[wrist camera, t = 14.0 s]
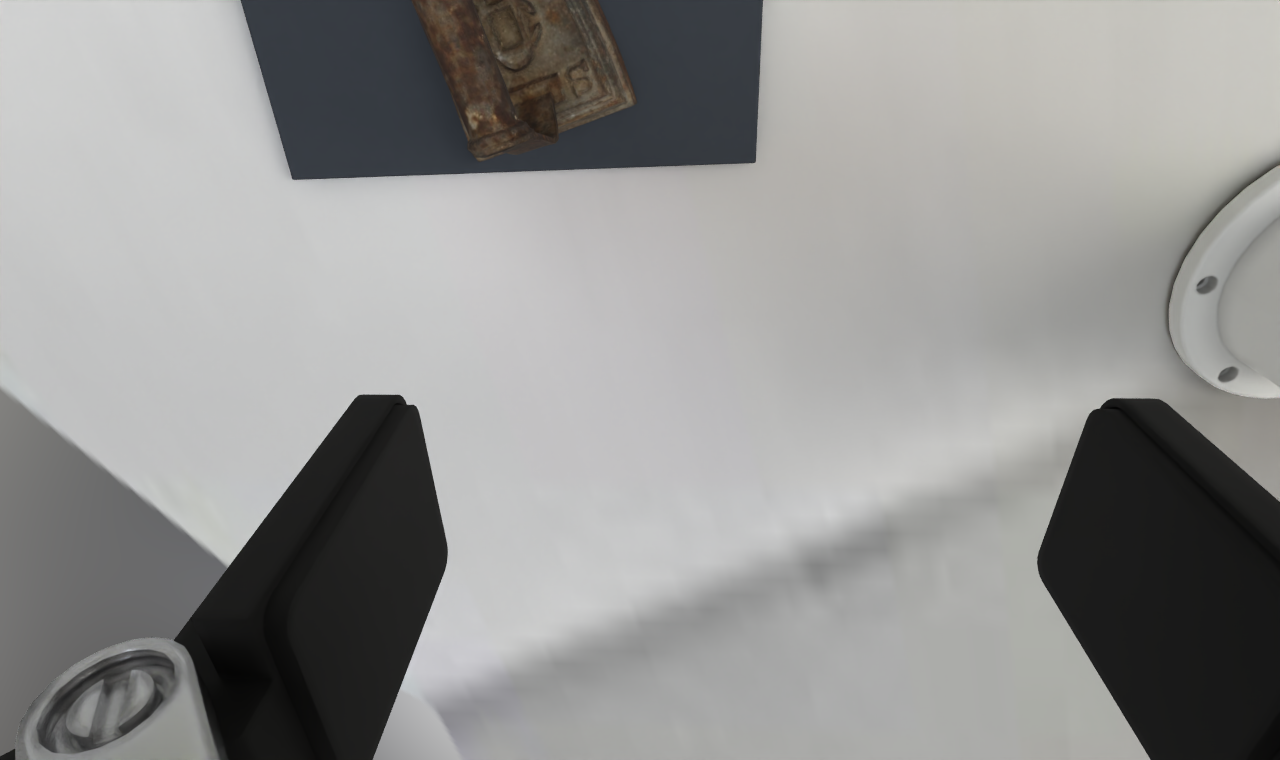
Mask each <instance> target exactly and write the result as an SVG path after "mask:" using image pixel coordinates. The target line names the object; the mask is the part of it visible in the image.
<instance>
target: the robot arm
mask: <svg viewBox="0 0 1280 760" xmlns="http://www.w3.org/2000/svg"><path fill="white" fill-rule="evenodd" d="M1169 330H1170V334H1171V337H1172V341H1173V345H1174V348H1175V349H1176V351H1177V352H1178V354H1179V356H1180V357H1181V359H1182V360H1183V362H1184V363H1185V364H1186V365H1187V366H1188V367H1189V368H1190V369H1192V370H1193V371H1194V372H1195V373H1196V374H1197V375H1198V376H1200V377H1201V378H1203V379H1204V380H1205V381H1207V382H1208V383H1210V384H1211V385H1212V386H1214V387H1216V388H1218V389H1221V390H1223V391H1226V392H1229V393H1232V394H1235V395H1238V396H1245V397H1252V398H1259V399H1265V398H1280V165H1279V166H1277V167H1275V168H1273V169H1272V170H1270V171H1269V172H1268V173H1266V174H1265V175H1263V176H1262V177H1260V178H1259V179H1258V180H1256V181H1255V182H1253V183H1252V184H1250V185H1249V186H1248V187H1246V188H1245V189H1244V190H1243V191H1242V192H1241V193H1240V194H1238V195H1237V196H1236V197H1235V198H1234V199H1233V200H1232V201H1231V202H1230V203H1228V204H1227V205H1226V206H1225V207H1224V208H1223V209H1222V210H1221V211H1220V212H1219V213H1218V214H1217V216H1216V217H1215V218H1214V219H1213V220H1212V221H1211V223H1210V224H1209V225H1208V226H1207V227H1206V228H1205V230H1204V231H1203V232H1202V233H1201V234H1200V236H1199V237H1198V239H1197V240H1196V242H1195V244H1194V245H1193V247H1192V248H1191V250H1190V252H1189V253H1188V255H1187V256H1186V258H1185V259H1184V262H1183V264H1182V266H1181V269H1180V271H1179V273H1178V276H1177V278H1176V280H1175V283H1174V286H1173V291H1172V295H1171V300H1170V304H1169ZM447 555H448V548H447V542H446V537H445V532H444V528H443V523H442V518H441V513H440V509H439V504H438V499H437V495H436V490H435V485H434V480H433V476H432V471H431V466H430V462H429V457H428V452H427V448H426V443H425V438H424V433H423V429H422V424H421V419H420V415H419V411H418V409H417V407H416V406H414V405H407V404H406V401H405V400H404V398H403V397H402V396H400V395H359V396H357V397H356V398H355V399H354V401H353V402H352V403H351V405H350V406H349V407H348V409H347V410H346V411H345V413H344V414H343V415H342V417H341V418H340V419H339V421H338V422H337V423H336V425H335V426H334V427H333V429H332V430H331V431H330V433H329V434H328V435H327V437H326V438H325V439H324V441H323V442H322V443H321V445H320V446H319V447H318V449H317V450H316V451H315V453H314V454H313V455H312V457H311V458H310V459H309V461H308V462H307V463H306V465H305V466H304V467H303V469H302V470H301V471H300V473H299V474H298V475H297V477H296V478H295V479H294V481H293V482H292V483H291V485H290V486H289V487H288V489H287V490H286V491H285V493H284V494H283V495H282V497H281V498H280V499H279V501H278V502H277V503H276V505H275V506H274V507H273V509H272V510H271V511H270V513H269V514H268V515H267V517H266V518H265V519H264V521H263V522H262V523H261V525H260V526H259V527H258V529H257V530H256V531H255V533H254V534H253V535H252V537H251V538H250V539H249V541H248V542H247V543H246V545H245V546H244V547H243V549H242V550H241V551H240V553H239V554H238V555H237V557H236V558H235V559H234V561H233V562H232V563H231V565H230V566H229V567H228V569H227V570H226V571H225V573H224V574H223V575H222V577H221V578H220V579H219V581H218V582H217V583H216V585H215V586H214V587H213V589H212V590H211V591H210V593H209V594H208V595H207V597H206V598H205V599H204V601H203V602H202V603H201V605H200V606H199V608H198V609H197V610H196V611H195V613H194V614H193V615H192V617H191V618H190V619H189V621H188V622H187V623H186V625H185V626H184V628H183V629H182V630H181V631H180V633H179V634H178V636H177V637H176V638H175V639H174V641H173V640H171V639H165V638H155V637H150V638H142V639H136V640H129V641H126V642H123V643H120V644H117V645H114V646H111V647H108V648H106V649H103V650H101V651H99V652H97V653H95V654H93V655H91V656H89V657H88V658H86V659H84V660H82V661H80V662H78V663H76V664H75V665H74V666H72V667H71V668H70V669H68V670H67V671H66V672H65V673H63V674H62V675H60V676H59V677H58V678H56V679H55V680H53V681H52V683H50V684H49V685H48V686H47V688H46V689H45V690H44V691H43V692H42V693H41V694H40V695H39V696H38V697H37V698H36V699H35V700H34V701H33V702H32V704H31V706H30V707H29V709H28V710H27V712H26V714H25V715H24V717H23V718H22V720H21V722H20V725H19V729H18V733H17V737H16V741H15V749H14V750H12V751H10V752H8V753H6V754H4V755H2V756H0V760H373V757H374V754H375V752H376V749H377V746H378V744H379V741H380V739H381V736H382V733H383V731H384V728H385V726H386V723H387V721H388V718H389V715H390V713H391V710H392V707H393V705H394V702H395V699H396V697H397V694H398V692H399V689H400V687H401V684H402V681H403V679H404V676H405V674H406V671H407V668H408V666H409V663H410V660H411V658H412V655H413V653H414V650H415V647H416V645H417V642H418V640H419V637H420V634H421V632H422V629H423V626H424V624H425V621H426V619H427V616H428V613H429V611H430V608H431V606H432V603H433V600H434V598H435V595H436V593H437V590H438V587H439V585H440V582H441V579H442V577H443V574H444V572H445V568H446V564H447ZM1037 564H1038V571H1039V575H1040V577H1041V579H1042V582H1043V583H1044V585H1045V587H1046V588H1047V590H1048V591H1049V593H1050V595H1051V596H1052V598H1053V600H1054V601H1055V603H1056V605H1057V606H1058V608H1059V610H1060V611H1061V613H1062V615H1063V616H1064V618H1065V619H1066V621H1067V623H1068V624H1069V626H1070V628H1071V629H1072V631H1073V633H1074V634H1075V636H1076V638H1077V639H1078V641H1079V642H1080V644H1081V646H1082V647H1083V649H1084V651H1085V652H1086V654H1087V656H1088V657H1089V659H1090V661H1091V662H1092V664H1093V665H1094V667H1095V669H1096V670H1097V672H1098V674H1099V675H1100V677H1101V679H1102V680H1103V682H1104V684H1105V685H1106V687H1107V689H1108V690H1109V692H1110V693H1111V695H1112V697H1113V698H1114V700H1115V702H1116V703H1117V705H1118V707H1119V708H1120V710H1121V712H1122V713H1123V715H1124V716H1125V718H1126V720H1127V721H1128V723H1129V725H1130V726H1131V728H1132V730H1133V731H1134V733H1135V735H1136V736H1137V738H1138V740H1139V741H1140V743H1141V744H1142V746H1143V748H1144V749H1145V751H1146V753H1147V754H1148V756H1149V758H1150V759H1151V760H1280V502H1279V501H1278V500H1277V499H1276V498H1275V497H1273V496H1272V495H1271V494H1270V493H1269V492H1268V491H1267V490H1265V489H1264V488H1263V487H1262V486H1261V485H1260V484H1259V483H1257V482H1256V481H1255V480H1254V479H1253V478H1252V477H1250V476H1249V475H1248V474H1247V473H1246V472H1245V471H1244V470H1242V469H1241V468H1240V467H1239V466H1238V465H1237V464H1236V463H1234V462H1233V461H1232V460H1231V459H1230V458H1229V457H1227V456H1226V455H1225V454H1224V453H1223V452H1222V451H1221V450H1219V449H1218V448H1217V447H1216V446H1215V445H1214V444H1213V443H1211V442H1210V441H1209V440H1208V439H1207V438H1206V437H1204V436H1203V435H1202V434H1201V433H1200V432H1199V431H1198V430H1196V429H1195V428H1194V427H1193V426H1192V425H1191V424H1190V423H1188V422H1187V421H1186V420H1185V419H1184V418H1183V417H1181V416H1180V415H1179V414H1178V413H1177V412H1176V411H1175V410H1173V409H1172V408H1171V407H1170V406H1169V405H1168V404H1167V403H1165V402H1163V401H1162V400H1160V399H1123V398H1113V399H1110V400H1107V401H1106V402H1105V403H1104V404H1103V405H1102V406H1101V408H1100V409H1096V410H1093V411H1092V412H1091V413H1090V414H1089V416H1088V418H1087V420H1086V423H1085V426H1084V429H1083V431H1082V434H1081V437H1080V440H1079V442H1078V445H1077V448H1076V451H1075V453H1074V456H1073V459H1072V462H1071V464H1070V467H1069V470H1068V473H1067V476H1066V478H1065V481H1064V484H1063V487H1062V489H1061V492H1060V495H1059V498H1058V500H1057V503H1056V506H1055V509H1054V511H1053V514H1052V517H1051V520H1050V522H1049V525H1048V528H1047V531H1046V534H1045V536H1044V539H1043V542H1042V545H1041V547H1040V550H1039V553H1038V560H1037Z"/></svg>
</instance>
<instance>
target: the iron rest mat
mask: <svg viewBox="0 0 1280 760" xmlns="http://www.w3.org/2000/svg"><path fill="white" fill-rule="evenodd" d="M598 1H599V3H600V6H601V8H602V10H603V12H604V15H605V17H606V19H607V21H608V24H609V26H610V28H611V31H612V33H613V36H614V38H615V40H616V43H617V45H618V47H619V50H620V53H621V55H622V58H623V61H624V64H625V67H626V70H627V72H628V75H629V78H630V81H631V84H632V87H633V90H634V94H635V97H636V100H637V104H635V105H633V106H631V107H629V108H626V109H624V110H621V111H618V112H615V113H613V114H610V115H607V116H605V117H602V118H599V119H597V120H594V121H591V122H589V123H586V124H583V125H580V126H578V127H575V128H572V129H569V130H567V131H564V132H562V133H559V139H558V141H557V142H556V143H555V144H552V145H548V146H544V147H541V148H538V149H534V150H531V151H528V152H525V153H522V154H518V155H512V154H508V153H504V154H502V155H499V156H496V157H494V158H491V159H488V160H485V161H482V162H478V161H477V159H476V158H474V156H473V155H472V153H471V152H469V151H468V150H467V143H468V139H467V137H466V134H465V132H464V129H463V127H462V124H461V121H460V118H459V116H458V113H457V110H456V107H455V105H454V102H453V99H452V96H451V93H450V90H449V88H448V86H447V83H446V81H445V79H444V76H443V74H442V71H441V69H440V67H439V64H438V62H437V60H436V57H435V55H434V53H433V51H432V48H431V46H430V44H429V41H428V39H427V37H426V35H425V32H424V30H423V28H422V25H421V23H420V20H419V18H418V15H417V13H416V10H415V8H414V6H413V4H412V2H411V0H241V3H242V6H243V10H244V13H245V17H246V20H247V24H248V27H249V30H250V34H251V37H252V41H253V44H254V48H255V51H256V55H257V58H258V62H259V65H260V68H261V72H262V75H263V79H264V82H265V86H266V89H267V93H268V96H269V100H270V103H271V106H272V110H273V113H274V117H275V120H276V124H277V127H278V131H279V134H280V138H281V141H282V144H283V148H284V151H285V155H286V158H287V162H288V165H289V169H290V172H291V175H292V179H294V180H300V179H327V178H355V177H382V176H409V175H437V174H464V173H491V172H519V171H546V170H574V169H601V168H628V167H656V166H683V165H710V164H738V163H755V161H756V142H757V119H758V97H759V74H760V52H761V29H762V7H763V0H598Z"/></svg>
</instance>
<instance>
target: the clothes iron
mask: <svg viewBox="0 0 1280 760" xmlns="http://www.w3.org/2000/svg"><path fill="white" fill-rule="evenodd" d="M411 2H412V4H413V6H414V8H415V10H416V13H417V15H418V18H419V20H420V23H421V25H422V28H423V30H424V32H425V35H426V37H427V39H428V41H429V44H430V46H431V48H432V51H433V53H434V55H435V57H436V60H437V62H438V64H439V67H440V69H441V71H442V74H443V76H444V79H445V81H446V83H447V86H448V88H449V90H450V93H451V96H452V99H453V102H454V105H455V107H456V110H457V113H458V116H459V118H460V121H461V124H462V127H463V129H464V132H465V134H466V137H467V139H468V143H467V150H468V151H469V152H471V153H472V155H473V156H474V158H476V159H477V161H478V162H482V161H485V160H488V159H491V158H494V157H496V156H499V155H502V154H504V153H508V154H512V155H518V154H522V153H525V152H528V151H531V150H534V149H538V148H541V147H544V146H548V145H552V144H555V143H556V142H557V141H558V139H559V133H562V132H564V131H567V130H569V129H572V128H575V127H578V126H580V125H583V124H586V123H589V122H591V121H594V120H597V119H599V118H602V117H605V116H607V115H610V114H613V113H615V112H618V111H621V110H624V109H626V108H629V107H631V106H633V105H635V104H637V100H636V97H635V94H634V90H633V87H632V84H631V81H630V78H629V75H628V72H627V70H626V67H625V64H624V61H623V58H622V55H621V53H620V50H619V47H618V45H617V43H616V40H615V38H614V36H613V33H612V31H611V28H610V26H609V24H608V21H607V19H606V17H605V15H604V12H603V10H602V8H601V6H600V3H599V1H598V0H411Z"/></svg>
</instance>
